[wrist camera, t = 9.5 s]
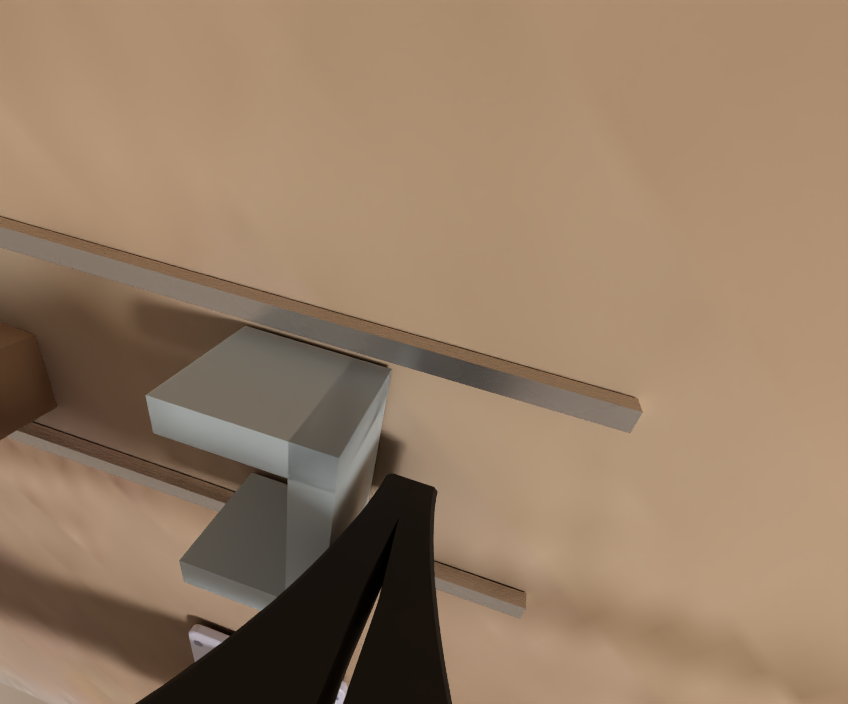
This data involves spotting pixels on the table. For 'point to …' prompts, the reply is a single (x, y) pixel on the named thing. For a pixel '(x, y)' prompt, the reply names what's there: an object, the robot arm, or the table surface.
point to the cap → (275, 454)
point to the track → (318, 327)
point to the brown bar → (21, 380)
